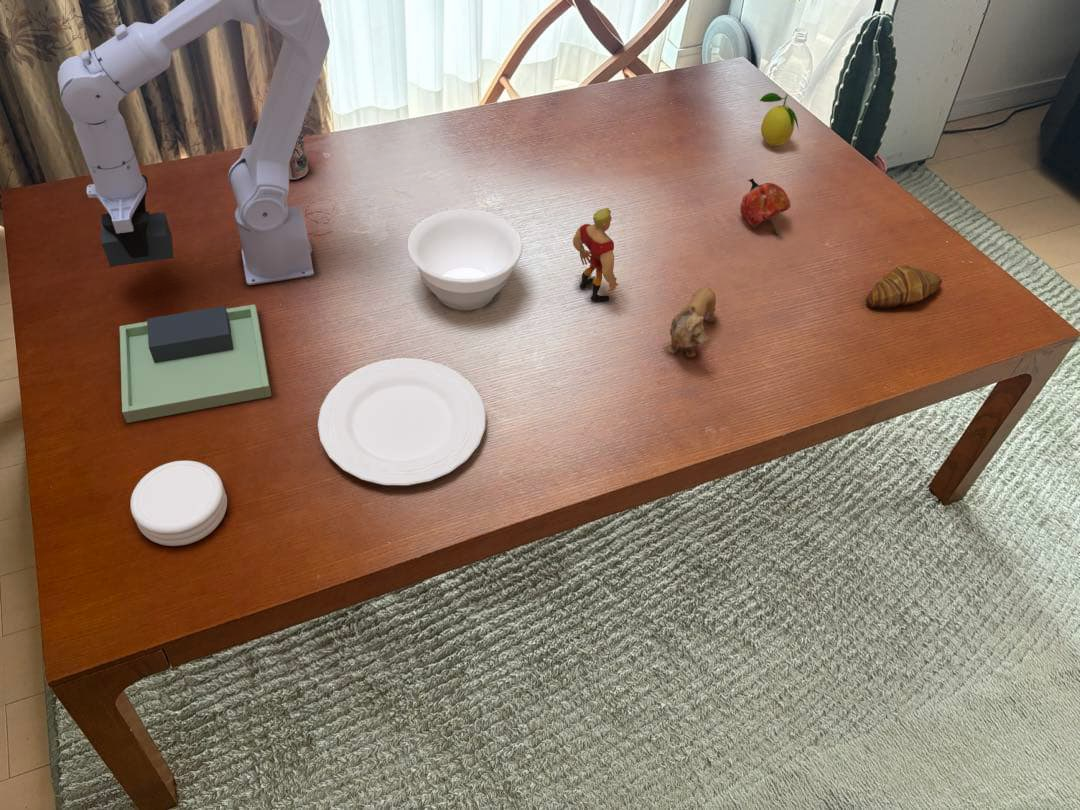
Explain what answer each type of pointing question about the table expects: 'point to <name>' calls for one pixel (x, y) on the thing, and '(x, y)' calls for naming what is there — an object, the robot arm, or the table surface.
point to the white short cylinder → (178, 503)
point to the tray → (193, 372)
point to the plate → (401, 422)
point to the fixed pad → (189, 334)
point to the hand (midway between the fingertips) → (139, 242)
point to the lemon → (777, 121)
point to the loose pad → (156, 239)
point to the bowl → (464, 255)
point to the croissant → (903, 287)
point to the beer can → (298, 159)
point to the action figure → (597, 253)
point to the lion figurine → (692, 322)
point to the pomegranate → (763, 203)
